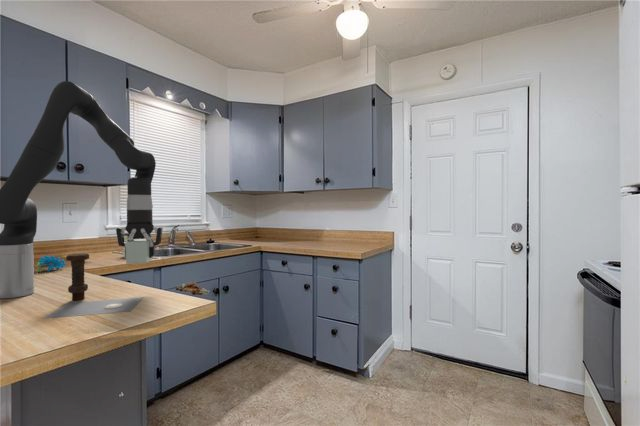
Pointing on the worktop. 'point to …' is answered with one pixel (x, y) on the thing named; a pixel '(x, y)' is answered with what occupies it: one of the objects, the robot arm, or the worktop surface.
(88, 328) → the worktop surface
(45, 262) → the blue flower cluster
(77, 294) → the bolt
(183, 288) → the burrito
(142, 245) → the pale green block
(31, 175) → the robot arm
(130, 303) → the board
